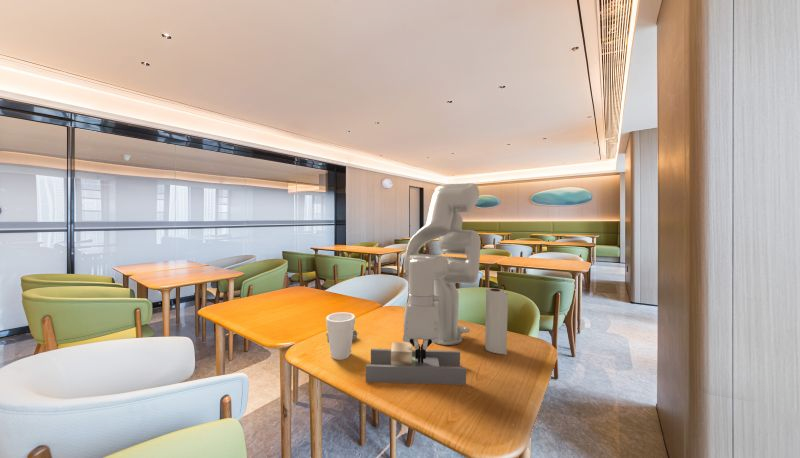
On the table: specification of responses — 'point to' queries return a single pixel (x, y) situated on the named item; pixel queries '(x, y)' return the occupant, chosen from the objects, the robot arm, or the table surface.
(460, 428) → the table surface
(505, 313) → the paper towel roll
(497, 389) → the table surface
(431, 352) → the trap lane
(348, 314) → the foam cup
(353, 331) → the egg carton
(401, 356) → the maple block
